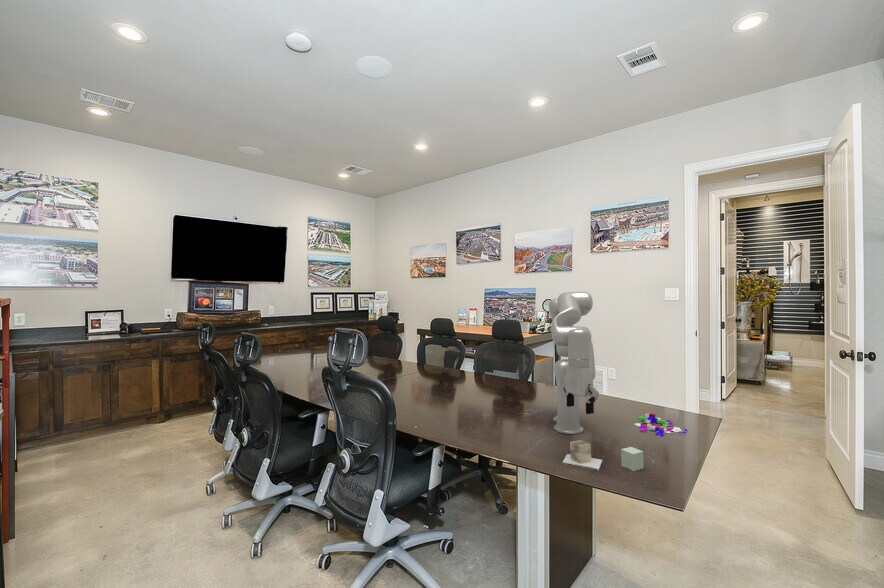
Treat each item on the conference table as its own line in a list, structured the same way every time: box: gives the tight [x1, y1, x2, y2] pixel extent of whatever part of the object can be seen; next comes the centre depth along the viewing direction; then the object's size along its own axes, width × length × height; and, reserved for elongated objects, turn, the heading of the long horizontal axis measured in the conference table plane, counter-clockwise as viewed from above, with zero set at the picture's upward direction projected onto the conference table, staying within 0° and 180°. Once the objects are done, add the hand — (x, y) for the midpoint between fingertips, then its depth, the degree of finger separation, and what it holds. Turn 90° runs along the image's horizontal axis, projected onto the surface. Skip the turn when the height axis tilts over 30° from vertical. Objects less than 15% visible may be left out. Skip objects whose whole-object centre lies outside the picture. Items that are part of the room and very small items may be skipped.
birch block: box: [569, 439, 592, 464], centre depth 144 cm, size 5×5×6 cm
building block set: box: [634, 412, 688, 437], centre depth 180 cm, size 25×20×4 cm
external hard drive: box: [562, 453, 603, 471], centre depth 143 cm, size 2×8×12 cm
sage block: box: [620, 446, 645, 472], centre depth 139 cm, size 5×5×6 cm
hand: (579, 409), depth 144 cm, fingers open, 9 cm apart
